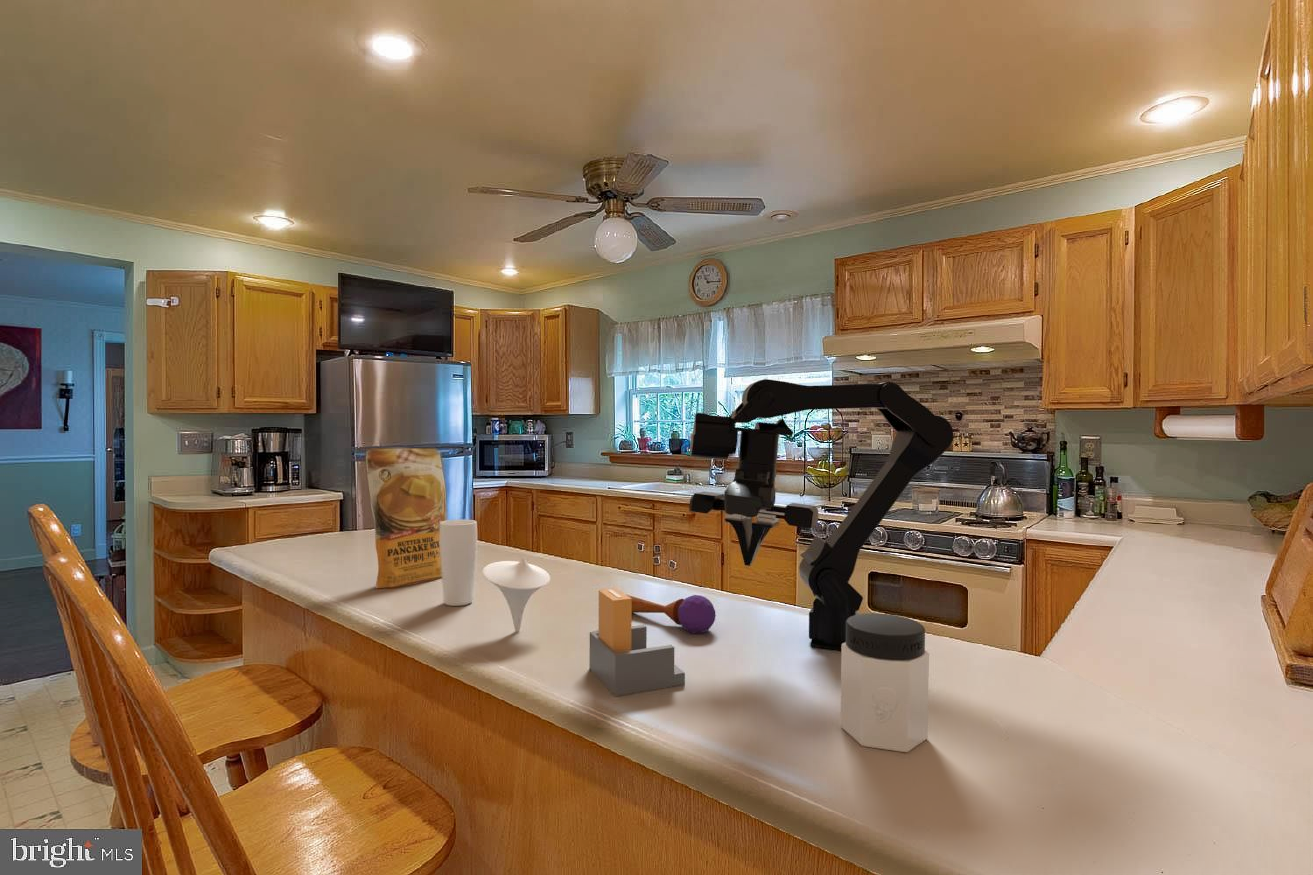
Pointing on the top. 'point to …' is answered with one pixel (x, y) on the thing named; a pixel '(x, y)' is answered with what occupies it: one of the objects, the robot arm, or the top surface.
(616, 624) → the breaker toggle
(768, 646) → the top surface
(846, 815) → the top surface
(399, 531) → the pancake mix bag
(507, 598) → the white spinning top
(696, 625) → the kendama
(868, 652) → the jar
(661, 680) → the base
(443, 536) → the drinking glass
